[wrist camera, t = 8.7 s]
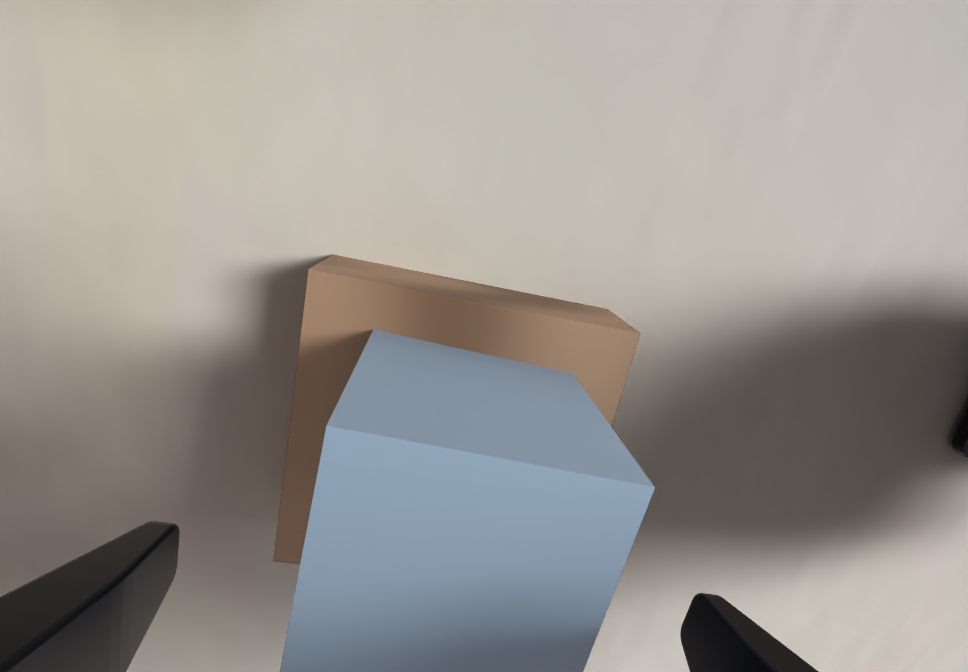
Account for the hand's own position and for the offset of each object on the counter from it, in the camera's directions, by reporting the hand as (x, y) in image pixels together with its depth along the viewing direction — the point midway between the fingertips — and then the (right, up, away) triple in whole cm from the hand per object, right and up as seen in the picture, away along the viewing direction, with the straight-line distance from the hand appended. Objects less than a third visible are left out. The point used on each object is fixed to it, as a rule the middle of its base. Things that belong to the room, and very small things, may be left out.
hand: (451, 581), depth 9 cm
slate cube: (0, +1, +4) cm, 4 cm away
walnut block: (-1, +2, +7) cm, 7 cm away
